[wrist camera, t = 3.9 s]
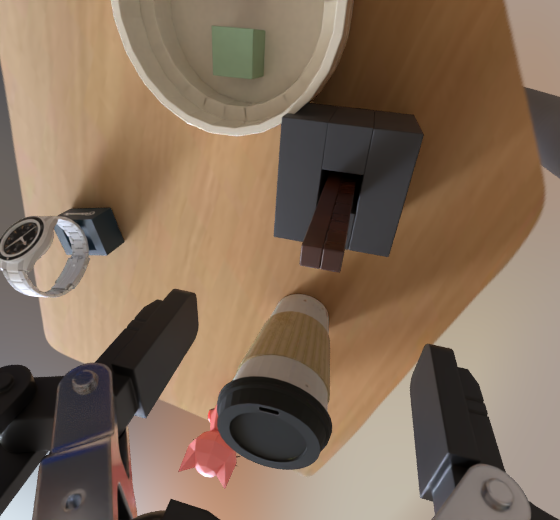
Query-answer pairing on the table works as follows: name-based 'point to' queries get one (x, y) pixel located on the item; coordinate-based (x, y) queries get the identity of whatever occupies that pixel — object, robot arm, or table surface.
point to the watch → (73, 236)
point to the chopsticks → (329, 224)
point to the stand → (346, 170)
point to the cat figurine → (211, 453)
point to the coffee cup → (282, 389)
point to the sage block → (238, 52)
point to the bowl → (228, 90)
